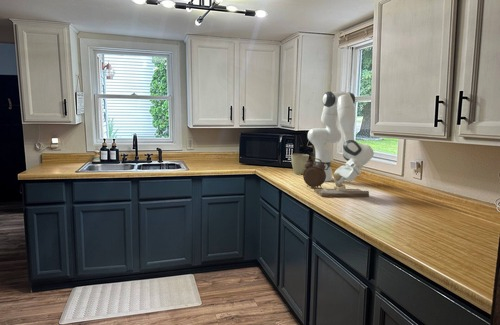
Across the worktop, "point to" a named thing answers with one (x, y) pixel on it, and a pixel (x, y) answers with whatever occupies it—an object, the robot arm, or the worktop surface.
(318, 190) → the walnut board
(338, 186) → the stacked beige blocks
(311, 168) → the alarm clock
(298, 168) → the plant pot
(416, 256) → the worktop surface
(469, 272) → the worktop surface
